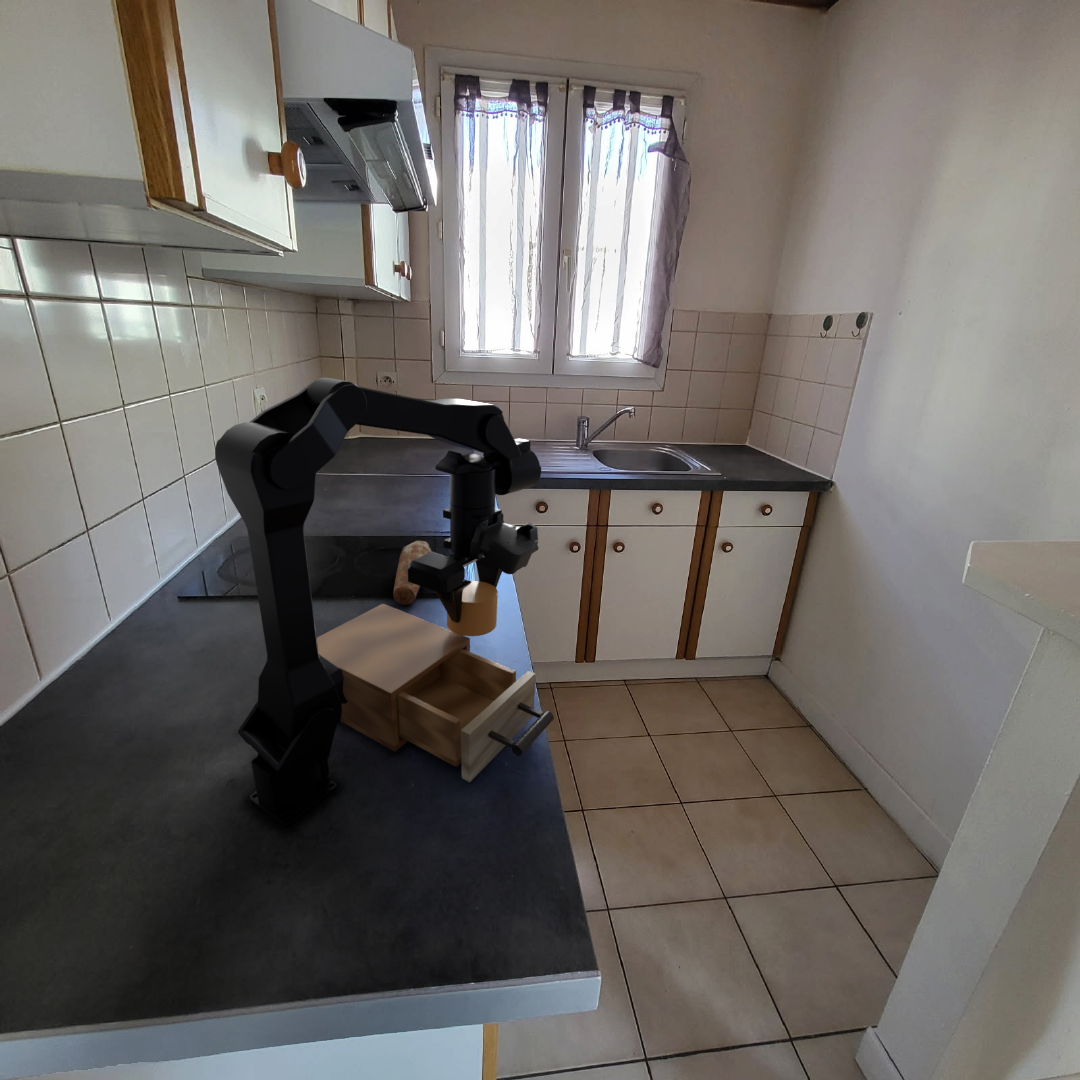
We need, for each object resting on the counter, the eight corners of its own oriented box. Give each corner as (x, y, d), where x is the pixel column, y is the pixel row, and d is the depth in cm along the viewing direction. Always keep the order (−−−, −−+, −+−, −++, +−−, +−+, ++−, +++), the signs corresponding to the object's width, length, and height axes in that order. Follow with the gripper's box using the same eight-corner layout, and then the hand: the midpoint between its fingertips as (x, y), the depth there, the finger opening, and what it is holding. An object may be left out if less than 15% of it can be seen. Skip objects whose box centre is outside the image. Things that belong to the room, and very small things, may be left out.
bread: (433, 564, 117) (432, 539, 115) (417, 608, 100) (416, 580, 98) (403, 563, 117) (401, 539, 115) (382, 608, 99) (380, 579, 97)
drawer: (565, 731, 71) (568, 686, 68) (504, 802, 60) (505, 752, 57) (443, 675, 80) (441, 635, 78) (371, 728, 70) (367, 683, 67)
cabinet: (470, 690, 79) (470, 638, 76) (394, 752, 67) (390, 693, 64) (386, 652, 87) (382, 603, 84) (305, 701, 75) (297, 647, 72)
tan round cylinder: (476, 641, 73) (477, 607, 71) (436, 626, 76) (436, 592, 74) (506, 621, 78) (507, 589, 76) (467, 607, 81) (468, 576, 80)
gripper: (479, 538, 59) (477, 662, 65) (563, 497, 74) (556, 601, 80) (401, 516, 64) (406, 633, 70) (495, 482, 79) (493, 581, 85)
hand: (472, 611), depth 76 cm, fingers closed on tan round cylinder, 7 cm apart
